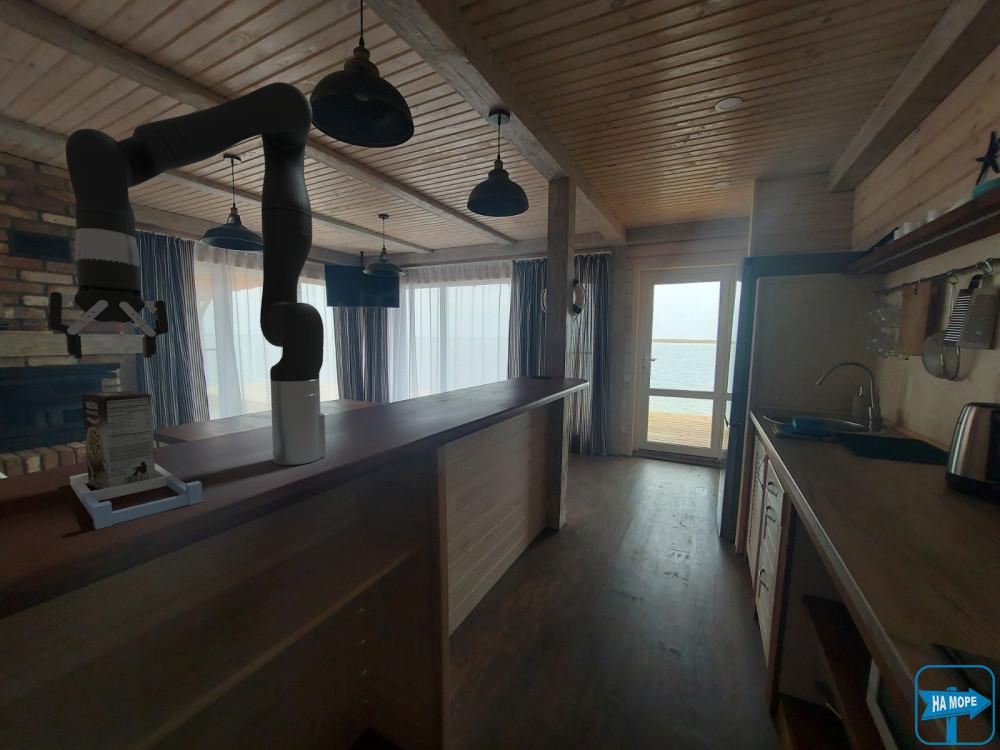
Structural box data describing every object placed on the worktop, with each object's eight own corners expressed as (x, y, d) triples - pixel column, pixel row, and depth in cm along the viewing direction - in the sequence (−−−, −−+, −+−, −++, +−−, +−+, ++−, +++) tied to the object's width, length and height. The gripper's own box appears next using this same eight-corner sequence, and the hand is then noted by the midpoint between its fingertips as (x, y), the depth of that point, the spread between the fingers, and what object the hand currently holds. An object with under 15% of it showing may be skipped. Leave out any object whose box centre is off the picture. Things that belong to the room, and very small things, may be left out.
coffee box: (86, 485, 67) (79, 393, 66) (134, 475, 73) (129, 389, 72) (108, 495, 63) (101, 396, 62) (157, 483, 68) (152, 392, 67)
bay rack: (154, 468, 77) (154, 453, 76) (202, 501, 60) (201, 482, 60) (67, 485, 67) (66, 468, 67) (95, 529, 51) (94, 507, 51)
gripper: (157, 271, 73) (161, 357, 74) (41, 256, 62) (48, 358, 63) (169, 266, 69) (173, 358, 70) (46, 249, 57) (53, 359, 58)
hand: (114, 358), depth 66 cm, fingers open, 8 cm apart
